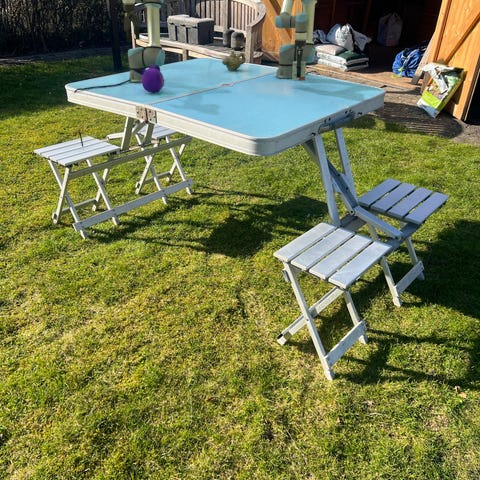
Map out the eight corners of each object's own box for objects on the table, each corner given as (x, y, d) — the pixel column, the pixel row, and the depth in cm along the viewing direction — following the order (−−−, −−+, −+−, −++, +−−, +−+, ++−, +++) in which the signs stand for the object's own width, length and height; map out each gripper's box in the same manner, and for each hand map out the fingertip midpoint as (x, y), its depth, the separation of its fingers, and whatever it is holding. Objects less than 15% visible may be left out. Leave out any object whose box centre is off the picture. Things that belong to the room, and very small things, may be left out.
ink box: (305, 79, 308) (306, 61, 302) (304, 80, 304) (305, 62, 298) (292, 79, 310) (293, 61, 304) (292, 80, 305) (292, 62, 299)
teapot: (225, 72, 362) (225, 52, 354) (219, 70, 371) (218, 51, 363) (248, 69, 371) (248, 50, 364) (241, 67, 380) (241, 48, 372)
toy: (156, 85, 322) (164, 98, 301) (131, 81, 314) (137, 93, 294) (160, 63, 314) (168, 74, 293) (135, 58, 306) (141, 69, 286)
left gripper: (131, 2, 290) (135, 38, 301) (114, 4, 269) (120, 43, 280) (142, 2, 289) (146, 38, 300) (126, 4, 268) (131, 43, 279)
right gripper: (295, 37, 302) (294, 74, 314) (293, 41, 287) (292, 79, 299) (307, 38, 301) (305, 74, 313) (305, 41, 286) (303, 79, 298)
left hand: (133, 40), depth 290 cm, fingers open, 13 cm apart
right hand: (298, 76), depth 306 cm, fingers closed on ink box, 5 cm apart
